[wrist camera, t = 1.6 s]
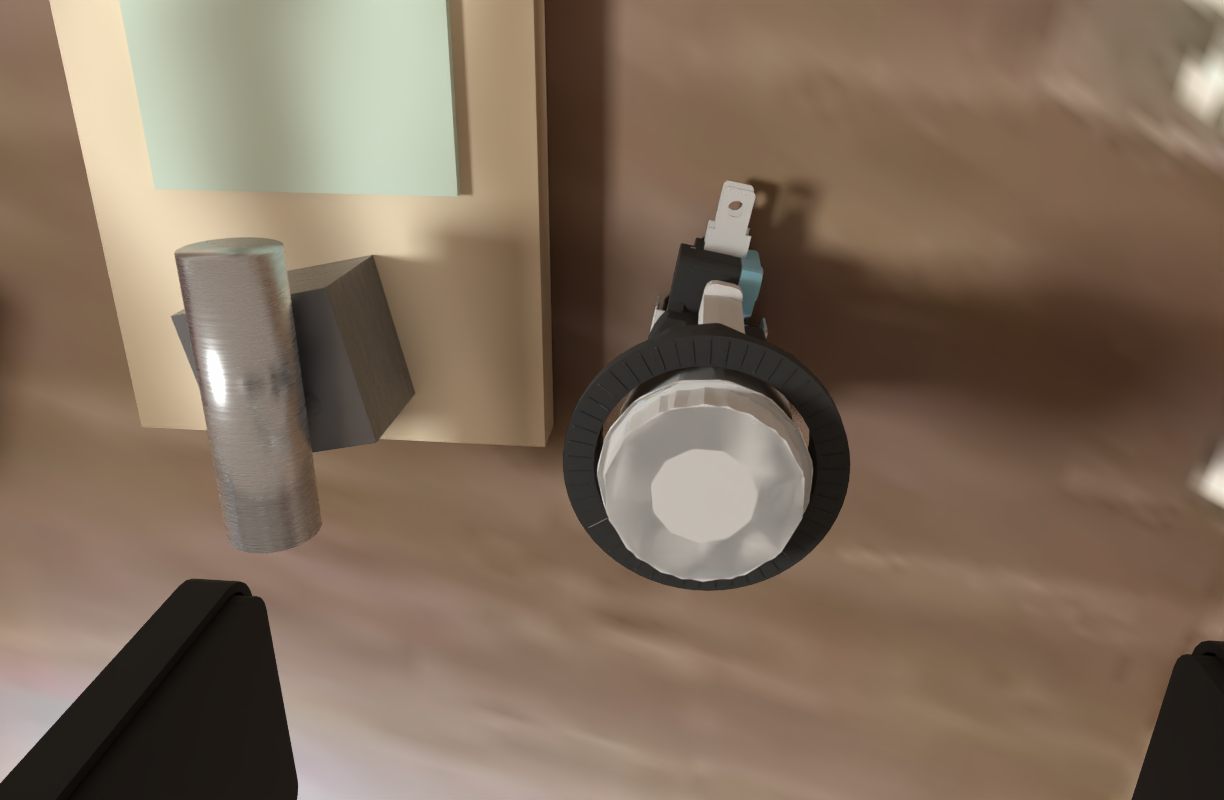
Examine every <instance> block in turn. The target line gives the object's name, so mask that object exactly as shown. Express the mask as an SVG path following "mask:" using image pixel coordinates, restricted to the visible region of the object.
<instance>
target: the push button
mask: <svg viewBox="0 0 1224 800" xmlns="http://www.w3.org/2000/svg"><path fill="white" fill-rule="evenodd" d="M755 197H756V195H755V194H754V188H753V187H752V185H748V184H744V183H739V182H734V181H730V180H727V181H726V182H724V185H723V189H722V193H721V197H720V201H719V205H718V210H717V214H716V218H715V221H713V220H709V222H708V227H707V231H706V235H705V239H700V238H696V240H695V244H694V246H692V245H688V244H683V243H682V244H681V245H680V249H679V254H678V258H677V262H676V267H675V272H674V277H673V282H672V286H671V291H670V296H669V301H668V305H667V310H666V311H665V310H661V309H658V308H659V303H660V298H661V295H658V298H657V303H656V307H655V312H654V316H653V321H652V325H651V330H650V334H649V337H648V340H647V341H645V342H642V343H640V344H638V345H636V346H634V347H632V348H630V349H629V350H627V351H625V352H624V353H622V354H621V355H619V356H618V357H616V358H615V359H614V360H613V361H611V362H610V363H609V364H608V365H606V366H605V367H604V368H603V369H602V370H601V371H600V372H599V373H598V374H597V375H596V377H595V378H594V379H593V380H592V381H591V383H590V384H589V385H588V387H587V388H586V390H585V391H584V393H583V394H582V396H581V397H580V399H579V401H578V403H577V406H576V408H575V410H574V412H573V415H572V418H571V421H570V424H569V426H568V429H567V434H566V438H565V442H564V451H563V472H564V480H565V485H566V489H567V493H568V497H569V499H570V502H571V505H572V507H573V509H574V511H575V513H576V515H577V517H578V519H579V521H580V523H581V524H582V526H583V527H584V529H585V530H586V532H587V533H588V534H589V535H590V537H591V538H592V539H593V540H594V542H595V543H596V544H597V545H598V546H599V547H600V548H601V549H602V550H603V551H604V552H606V553H607V554H608V555H609V556H610V557H612V558H613V559H614V560H615V561H617V562H618V563H620V564H621V565H623V566H624V567H626V568H627V569H629V570H631V571H633V572H635V573H636V574H638V575H640V576H643V577H645V578H647V579H650V580H652V581H655V582H658V583H661V584H664V585H668V586H673V587H677V588H683V589H690V590H705V591H711V590H726V589H734V588H739V587H744V586H748V585H752V584H755V583H758V582H761V581H764V580H766V579H769V578H771V577H773V576H776V575H778V574H780V573H781V572H783V571H785V570H787V569H789V568H790V567H792V566H793V565H795V564H796V563H798V562H799V561H800V560H802V559H803V558H804V557H805V556H806V555H808V554H809V553H810V552H811V551H812V550H813V549H814V548H815V547H816V546H817V545H818V544H819V543H820V542H821V541H822V539H823V538H824V537H825V535H826V534H827V533H828V531H829V530H830V529H831V527H832V525H833V524H834V522H835V520H836V518H837V516H838V514H839V512H840V510H841V508H842V505H843V502H844V499H845V496H846V493H847V488H848V482H849V474H850V454H849V447H848V441H847V436H846V433H845V430H844V426H843V423H842V420H841V417H840V415H839V412H838V410H837V408H836V406H835V403H834V402H833V400H832V398H831V397H830V395H829V393H828V392H827V390H826V389H825V387H824V386H823V385H822V384H821V382H820V381H819V380H818V379H817V377H816V376H815V375H814V374H813V373H812V372H811V371H810V370H809V369H808V368H807V367H805V366H804V365H803V364H802V363H801V362H799V361H798V360H797V359H796V358H795V357H794V356H793V355H791V354H789V353H787V352H785V351H784V350H782V349H780V348H778V347H776V346H774V345H772V344H770V343H768V342H767V340H766V338H767V334H768V332H767V325H766V319H765V318H762V320H761V323H760V326H759V328H758V327H754V326H749V322H750V319H751V315H752V311H753V307H754V304H755V300H757V298H758V294H759V290H760V287H761V282H762V277H763V268H762V267H761V264H760V259H759V254H758V251H755V250H750V249H748V248H749V244H750V240H751V236H749V231H750V228H748V224H749V220H750V216H751V212H752V208H753V204H754V200H755ZM733 201H740V202H741V203H742V206H741V207H740V208H739V209H737V210H733V209H730V208H729V207H728V206H729V204H730V203H731V202H733ZM630 391H631V392H630ZM629 392H630V393H629ZM628 393H629V395H628V397H627V399H626V400H625V402H624V404H623V406H622V407H621V410H620V414H619V418H618V419H617V420H616V422H615V423H614V424H613V425H612V426H611V427H610V429H609V431H608V433H607V434H606V436H605V440H604V443H603V435H602V430H603V424H604V422H605V420H606V418H607V417H608V415H609V414H610V412H611V411H612V409H613V408H614V407H615V406H616V405H617V403H618V402H619V401H620V400H621V399H622V398H623V397H624V396H625V395H627V394H628ZM785 397H786V398H787V399H788V400H789V401H790V402H791V403H792V404H793V405H794V406H795V408H796V409H797V410H798V412H799V413H800V414H801V416H802V417H803V419H804V421H805V422H806V424H807V426H808V428H809V430H810V431H809V446H808V449H807V446H806V443H805V440H804V438H803V435H802V432H801V431H800V429H799V427H798V426H797V424H796V423H795V422H794V421H793V420H792V416H791V411H790V406H789V402H788V401H787V399H786V398H785Z"/></svg>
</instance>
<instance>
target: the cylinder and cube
mask: <svg viewBox="0 0 1224 800" xmlns="http://www.w3.org/2000/svg"><path fill="white" fill-rule="evenodd" d="M174 255H175V261H176V266H177V271H178V277H179V282H180V287H181V293H182V298H183V304H184V309H183V310H181V311H179V312H177V313H175V314H174V315H172V316H171V319H172V321H173V324H174V326H175V329H176V331H177V334H178V336H179V339H180V341H181V344H182V346H183V349H184V351H185V354H186V356H187V359H188V361H189V364H190V366H191V369H192V371H193V374H194V376H195V379H196V381H197V384H198V386H199V390H200V395H201V400H202V406H203V411H204V416H205V422H206V427H207V433H208V438H209V443H210V449H211V454H212V459H213V465H214V470H215V476H216V481H217V486H218V492H219V497H220V502H221V508H222V513H223V519H224V524H225V529H226V535H227V540H228V542H229V544H230V545H231V546H232V547H234V548H235V549H237V550H240V551H243V552H248V553H272V552H278V551H283V550H287V549H290V548H293V547H296V546H298V545H300V544H302V543H304V542H306V541H308V540H309V539H311V538H312V537H313V536H315V535H316V534H317V532H318V531H319V530H320V528H321V525H322V521H321V513H320V506H319V499H318V491H317V484H316V477H315V470H314V462H313V455H312V452H318V451H324V450H331V449H338V448H344V447H351V446H358V445H364V444H371V443H376V442H377V441H378V440H379V439H380V437H381V436H382V435H383V434H384V432H385V431H386V430H387V429H388V427H389V426H390V425H391V424H392V422H393V421H394V420H395V419H396V417H397V416H398V415H399V414H400V412H401V411H402V410H403V409H404V407H405V406H406V405H407V403H408V402H409V401H410V400H411V398H412V397H413V396H414V395H415V390H414V387H413V384H412V381H411V377H410V374H409V371H408V368H407V364H406V361H405V358H404V355H403V351H402V348H401V345H400V342H399V338H398V335H397V332H396V328H395V325H394V322H393V319H392V315H391V312H390V309H389V306H388V302H387V299H386V296H385V293H384V289H383V286H382V283H381V280H380V276H379V273H378V270H377V267H376V263H375V260H374V257H373V255H369V256H363V257H358V258H353V259H347V260H342V261H337V262H332V263H326V264H321V265H316V266H310V267H305V268H300V269H295V270H289V271H287V266H286V259H285V252H284V245H283V243H282V242H280V241H278V240H274V239H268V238H256V237H238V238H223V239H214V240H208V241H202V242H197V243H193V244H189V245H186V246H183V247H181V248H179V249H177V250H176V251H175V252H174Z"/></svg>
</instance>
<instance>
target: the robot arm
mask: <svg viewBox="0 0 1224 800" xmlns="http://www.w3.org/2000/svg"><path fill="white" fill-rule="evenodd" d="M297 795H298V780H297V774H296V769H295V763H294V758H293V752H292V747H291V741H290V736H289V730H288V725H287V720H286V714H285V709H284V703H283V698H282V692H281V687H280V681H279V676H278V670H277V665H276V659H275V654H274V648H273V643H272V637H271V632H270V626H269V621H268V615H267V610H266V606H265V603H264V601H263V600H262V598H260V597H257V596H252V594H251V591H250V589H249V587H248V586H247V585H246V584H245V583H243V582H239V581H222V580H206V579H190V580H186V581H185V582H184V583H182V584H181V585H180V586H179V587H178V588H177V589H176V590H175V591H174V592H173V593H172V595H171V596H170V597H169V598H168V599H167V600H166V601H165V602H164V603H163V604H162V606H161V607H160V608H159V609H158V610H157V611H156V612H155V613H154V614H153V616H152V617H151V618H150V619H149V620H148V621H147V622H146V623H145V624H144V625H143V627H142V628H141V629H140V630H139V631H138V632H137V633H136V634H135V635H134V636H133V638H132V639H131V640H130V641H129V642H128V643H127V644H126V645H125V646H124V648H123V649H122V650H121V651H120V652H119V653H118V654H117V655H116V656H115V657H114V659H113V660H112V661H111V662H110V663H109V664H108V665H107V666H106V667H105V668H104V670H103V671H102V672H101V673H100V674H99V675H98V676H97V677H96V678H95V680H94V681H93V682H92V683H91V684H90V685H89V686H88V687H87V688H86V689H85V691H84V692H83V693H82V694H81V695H80V696H79V697H78V698H77V699H76V700H75V702H74V703H73V704H72V705H71V706H70V707H69V708H68V709H67V710H66V711H65V713H64V714H63V715H62V716H61V717H60V718H59V719H58V720H57V721H56V723H55V724H54V725H53V726H52V727H51V728H50V729H49V730H48V731H47V732H46V734H45V735H44V736H43V737H42V738H41V739H40V740H39V741H38V742H37V743H36V745H35V746H34V747H33V748H32V749H31V750H30V751H29V752H28V753H27V755H26V756H25V757H24V758H23V759H22V760H21V761H20V762H19V763H18V764H17V766H16V767H15V768H14V769H13V770H12V771H11V772H10V773H9V774H8V775H7V777H6V778H5V779H4V780H3V781H2V782H1V783H0V800H297ZM1132 800H1224V641H1204V642H1201V643H1200V644H1199V645H1197V646H1196V647H1195V649H1194V651H1193V653H1192V655H1190V654H1186V655H1182V656H1181V657H1180V658H1178V659H1177V661H1176V663H1175V666H1174V668H1173V671H1172V675H1171V678H1170V681H1169V684H1168V687H1167V690H1166V693H1165V697H1164V700H1163V703H1162V706H1161V709H1160V712H1159V715H1158V719H1157V722H1156V725H1155V728H1154V731H1153V734H1152V737H1151V741H1150V744H1149V747H1148V750H1147V753H1146V756H1145V759H1144V763H1143V766H1142V769H1141V772H1140V775H1139V778H1138V781H1137V785H1136V788H1135V791H1134V794H1133V797H1132Z"/></svg>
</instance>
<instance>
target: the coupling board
mask: <svg viewBox="0 0 1224 800" xmlns="http://www.w3.org/2000/svg"><path fill="white" fill-rule="evenodd" d="M49 1H50V5H51V10H52V15H53V19H54V24H55V28H56V33H57V38H58V42H59V47H60V51H61V56H62V61H63V65H64V70H65V75H66V79H67V84H68V88H69V93H70V98H71V102H72V107H73V111H74V116H75V121H76V125H77V130H78V135H79V139H80V144H81V148H82V153H83V158H84V162H85V167H86V172H87V176H88V181H89V185H90V190H91V195H92V199H93V204H94V208H95V213H96V218H97V222H98V227H99V232H100V236H101V241H102V245H103V250H104V255H105V259H106V264H107V268H108V273H109V278H110V282H111V287H112V292H113V296H114V301H115V305H116V310H117V315H118V319H119V324H120V328H121V333H122V338H123V342H124V347H125V352H126V356H127V361H128V365H129V370H130V375H131V379H132V384H133V388H134V393H135V398H136V402H137V407H138V412H139V416H140V421H141V425H142V427H154V428H174V429H194V430H207V427H206V422H205V416H204V411H203V406H202V400H201V395H200V390H199V386H198V384H197V381H196V379H195V376H194V374H193V371H192V369H191V366H190V364H189V361H188V359H187V356H186V354H185V351H184V349H183V346H182V344H181V341H180V339H179V336H178V334H177V331H176V329H175V326H174V324H173V321H172V319H171V316H172V315H174V314H175V313H177V312H179V311H181V310H183V309H184V304H183V298H182V293H181V287H180V282H179V277H178V271H177V266H176V261H175V255H174V252H175V251H176V250H177V249H179V248H181V247H183V246H186V245H189V244H193V243H197V242H202V241H208V240H214V239H223V238H238V237H256V238H268V239H274V240H278V241H280V242H282V243H283V245H284V252H285V259H286V266H287V271H289V270H295V269H300V268H305V267H310V266H316V265H321V264H326V263H332V262H337V261H342V260H347V259H353V258H358V257H363V256H369V255H373V257H374V260H375V263H376V267H377V270H378V273H379V276H380V280H381V283H382V286H383V289H384V293H385V296H386V299H387V302H388V306H389V309H390V312H391V315H392V319H393V322H394V325H395V328H396V332H397V335H398V338H399V342H400V345H401V348H402V351H403V355H404V358H405V361H406V364H407V368H408V371H409V374H410V377H411V381H412V384H413V387H414V390H415V395H414V396H413V397H412V398H411V400H410V401H409V402H408V403H407V405H406V406H405V407H404V409H403V410H402V411H401V412H400V414H399V415H398V416H397V417H396V419H395V420H394V421H393V422H392V424H391V425H390V426H389V427H388V429H387V430H386V431H385V432H384V434H383V435H382V436H381V437H380V439H394V440H414V441H434V442H454V443H474V444H494V445H514V446H535V447H545V446H546V443H547V441H548V438H549V436H550V433H551V431H552V428H553V426H554V418H553V372H552V326H551V280H550V234H549V188H548V142H547V97H546V51H545V5H544V0H49Z"/></svg>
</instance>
